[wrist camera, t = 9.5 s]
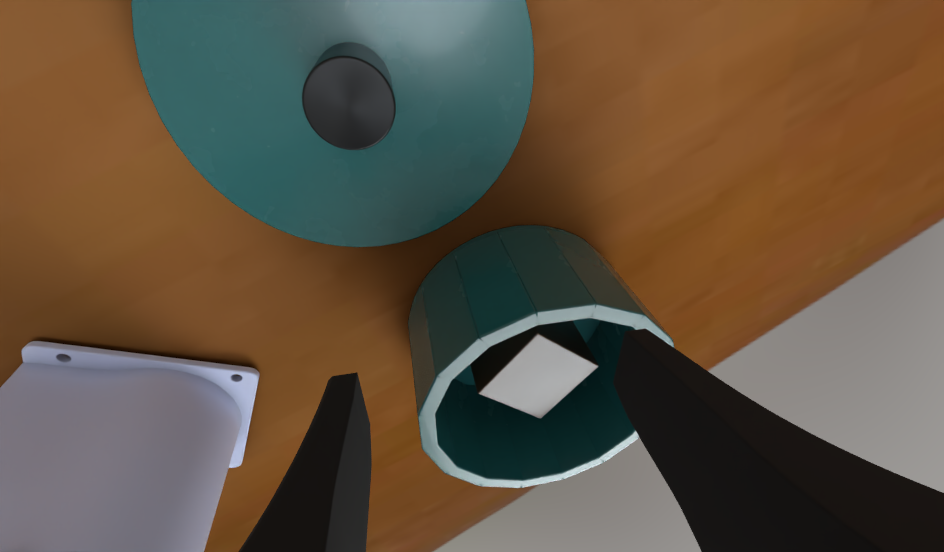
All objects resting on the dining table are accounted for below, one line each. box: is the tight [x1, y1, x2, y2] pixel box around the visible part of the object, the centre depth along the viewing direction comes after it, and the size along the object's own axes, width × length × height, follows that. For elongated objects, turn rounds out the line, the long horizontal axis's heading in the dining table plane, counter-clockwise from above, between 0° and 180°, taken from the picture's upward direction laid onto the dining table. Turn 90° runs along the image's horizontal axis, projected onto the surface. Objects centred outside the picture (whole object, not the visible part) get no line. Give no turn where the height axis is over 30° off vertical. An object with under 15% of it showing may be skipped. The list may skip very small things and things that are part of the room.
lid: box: [131, 0, 534, 247], centre depth 14 cm, size 13×13×4 cm
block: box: [470, 321, 599, 418], centre depth 22 cm, size 4×4×4 cm
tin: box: [408, 225, 674, 488], centre depth 21 cm, size 11×11×6 cm
